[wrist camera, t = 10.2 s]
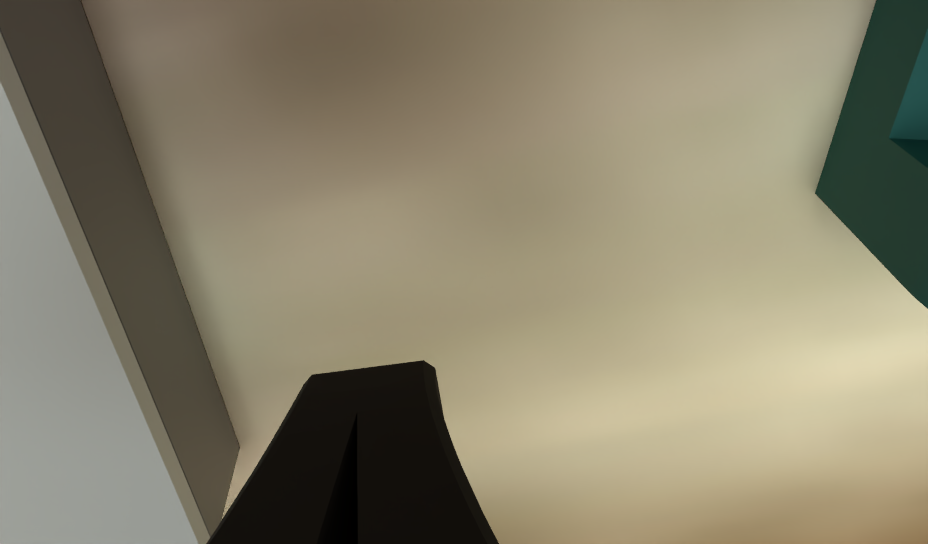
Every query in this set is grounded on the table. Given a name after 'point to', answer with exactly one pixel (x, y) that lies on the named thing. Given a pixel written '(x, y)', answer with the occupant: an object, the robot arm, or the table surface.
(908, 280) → the bracket
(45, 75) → the cable duct
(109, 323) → the duct lid
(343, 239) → the table surface
